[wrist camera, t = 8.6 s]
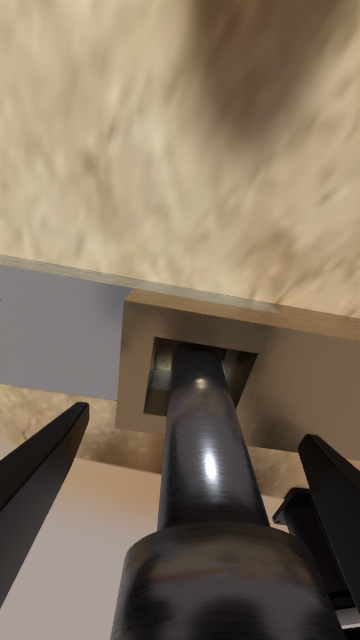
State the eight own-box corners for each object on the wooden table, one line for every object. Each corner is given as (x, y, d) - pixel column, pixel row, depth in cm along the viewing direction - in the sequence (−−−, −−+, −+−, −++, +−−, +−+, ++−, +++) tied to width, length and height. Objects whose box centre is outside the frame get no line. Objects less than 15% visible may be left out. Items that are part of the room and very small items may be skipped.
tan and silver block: (336, 411, 16) (382, 463, 12) (11, 363, 15) (-47, 406, 11) (396, 325, 13) (480, 361, 9) (-12, 252, 11) (-104, 260, 8)
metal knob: (216, 375, 15) (292, 693, 5) (159, 367, 15) (103, 683, 4) (232, 324, 13) (415, 650, 3) (168, 313, 13) (110, 628, 3)
